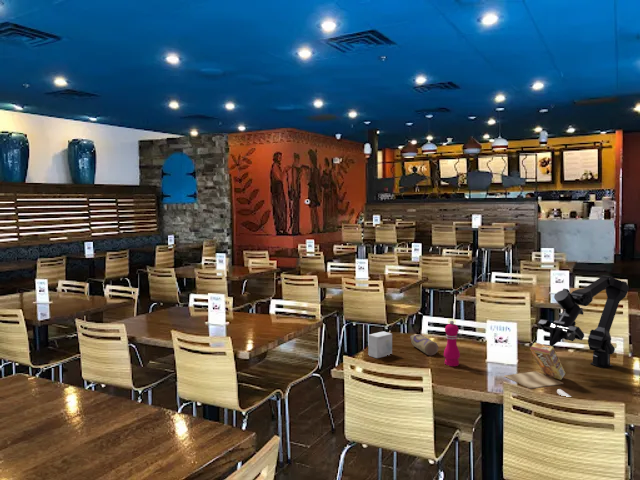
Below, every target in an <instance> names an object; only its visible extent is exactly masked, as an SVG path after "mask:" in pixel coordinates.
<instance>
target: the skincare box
mask: <svg viewBox="0 0 640 480" xmlns="http://www.w3.org/2000/svg"><path fill="white" fill-rule="evenodd" d="M367 352H368V354H367V355H369V357H372V358H375V359H380V358H384V357H388V356H391V355H390V354H392V355H393V333H391V332H388V331H387V332H386V331H384V330H383V331H379V332H374V333H370V334H368V350H367ZM387 355H388V356H387Z"/></svg>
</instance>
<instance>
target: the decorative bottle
mask: <svg viewBox="0 0 640 480" xmlns="http://www.w3.org/2000/svg"><path fill="white" fill-rule="evenodd" d="M409 338H410V340H411V344H412V346H414V347H415V348H416V349H418V350H420V351H421V352H422V353H424V354H425V355H428V356H434V355H436V353H438V351H439V346H438V343H437V342H435V341H433V340H431V339H429V338H428V337H427V336H425V335H423V334H415V335H414V334H412V335H410V337H409Z"/></svg>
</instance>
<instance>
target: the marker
mask: <svg viewBox="0 0 640 480" xmlns="http://www.w3.org/2000/svg"><path fill="white" fill-rule="evenodd" d="M556 393H557V394H558V395H559V396H560V395H561V396H566V397H572V396H571V395H570V394H569V393H567V392H565V391H564V390H563V389H561V388H558V389H557V390H556ZM561 396H560V397H561Z"/></svg>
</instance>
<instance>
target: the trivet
mask: <svg viewBox="0 0 640 480" xmlns="http://www.w3.org/2000/svg"><path fill="white" fill-rule="evenodd" d="M503 376H504V378H506V379H509V380H511V381H513V382H515V383H517V384H520V385H521V386H523V387H525V388H528V389H530V390H531V389H538V388H544V387H545V388H546V387H553V386H559V385H564V382H562V381H561V380H559V379H556V378H553V377H550V376H546V375H543V374H542V372H539V371H528V372H520V373H513V374H507V375H503Z"/></svg>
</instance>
